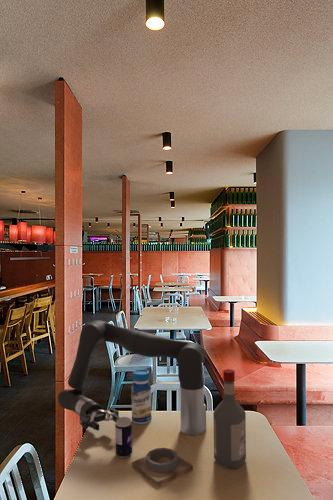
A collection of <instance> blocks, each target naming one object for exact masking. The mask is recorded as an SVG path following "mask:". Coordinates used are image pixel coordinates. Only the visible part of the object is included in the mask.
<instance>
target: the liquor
mask: <svg viewBox="0 0 333 500" xmlns="http://www.w3.org/2000/svg"><path fill="white" fill-rule="evenodd" d="M222 375H223V396H222V400H221V402H219V403H218V405H217V406H216V407H215V409H214V410H213V458H214V461H215V463H216V464H217V465H218V466H222V467H224V468H227V469H229V470H234V469H239V468H240V467H241V466H242V465H243V464H244V463H245V461H246V459H247V434H246V433H247V430H246V429H247V428H246V426H247V425H246V424H247V423H246V422H247V421H246V420H247V419H246V412H245V411H246V410H245V408H244V407H243V406H241V404H240V403H239V402H238V401H237V400H236V396H235V381H236V379H235V370H234V369H230V368H229V369H223V374H222Z"/></svg>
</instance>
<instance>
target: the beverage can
mask: <svg viewBox="0 0 333 500" xmlns="http://www.w3.org/2000/svg"><path fill="white" fill-rule="evenodd" d="M132 422H133V421H132V418H130V417H127V416H122V417H121V416H120V418H118V419H117V420H116V422H115V425H114V428H115V429H114V432H115V434H114V435H115V438H114V439H115V454H116V456H118V457H119V458H121V459H126V458H129V457H130V456H131V454H133V423H132Z"/></svg>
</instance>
